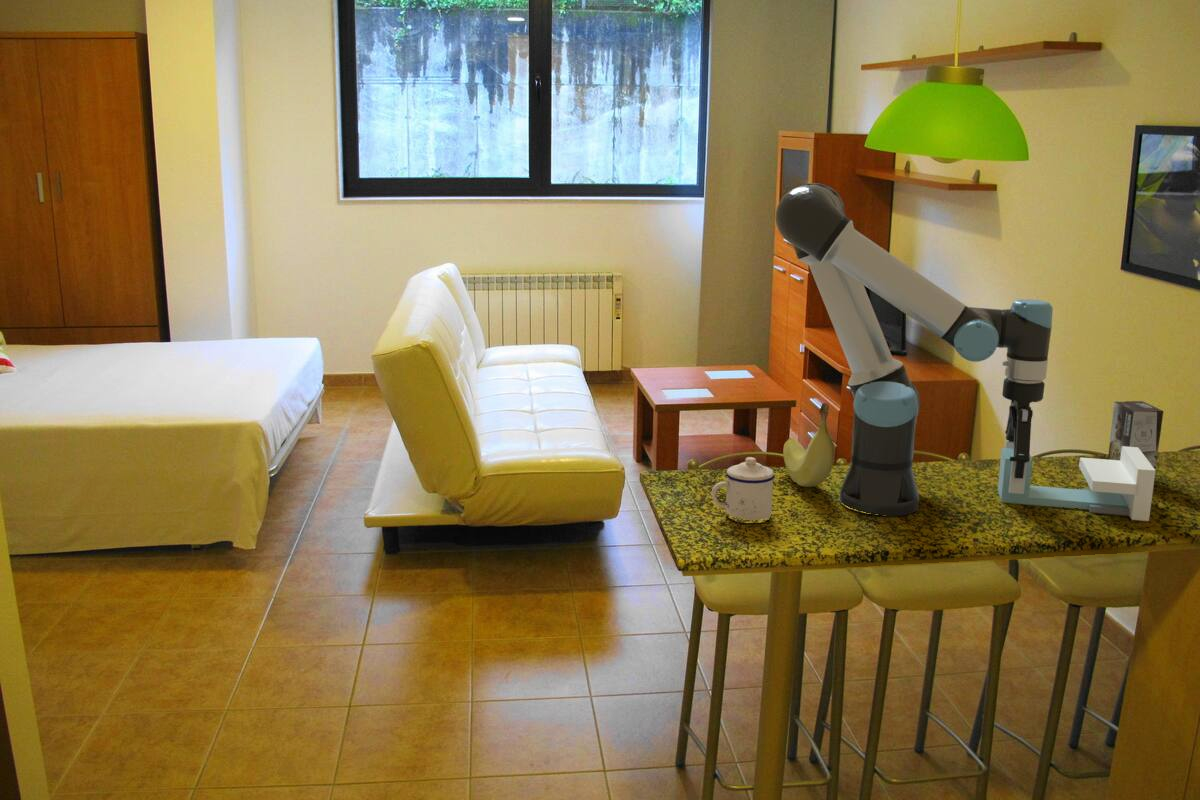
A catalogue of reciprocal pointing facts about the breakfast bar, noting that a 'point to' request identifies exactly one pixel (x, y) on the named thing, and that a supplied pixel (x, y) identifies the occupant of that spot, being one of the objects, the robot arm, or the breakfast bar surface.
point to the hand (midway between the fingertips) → (1012, 482)
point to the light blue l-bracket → (1050, 491)
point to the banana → (811, 456)
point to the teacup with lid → (747, 490)
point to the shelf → (1122, 482)
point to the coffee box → (1135, 429)
